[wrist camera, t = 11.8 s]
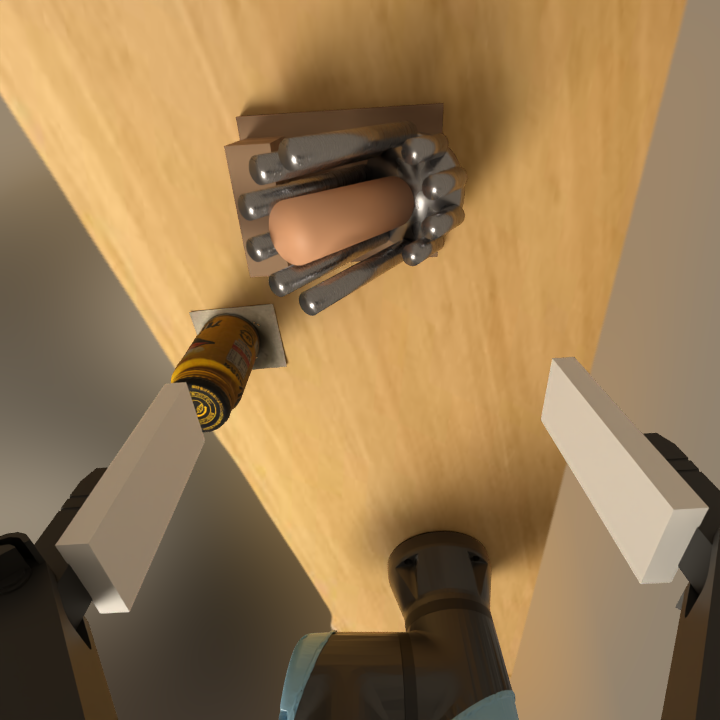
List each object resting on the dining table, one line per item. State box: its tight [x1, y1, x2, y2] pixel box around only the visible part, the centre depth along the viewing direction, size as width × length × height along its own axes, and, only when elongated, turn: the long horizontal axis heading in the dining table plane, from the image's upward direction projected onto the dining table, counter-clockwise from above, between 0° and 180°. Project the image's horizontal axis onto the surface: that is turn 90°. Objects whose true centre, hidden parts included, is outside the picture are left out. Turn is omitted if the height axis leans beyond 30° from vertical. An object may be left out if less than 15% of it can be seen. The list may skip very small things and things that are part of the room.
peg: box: [269, 176, 414, 265], centre depth 31 cm, size 4×4×12 cm
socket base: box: [224, 103, 443, 277], centre depth 34 cm, size 12×16×8 cm
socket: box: [238, 121, 467, 316], centre depth 31 cm, size 10×16×15 cm, turn 93°
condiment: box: [171, 304, 287, 432], centre depth 39 cm, size 7×8×12 cm
